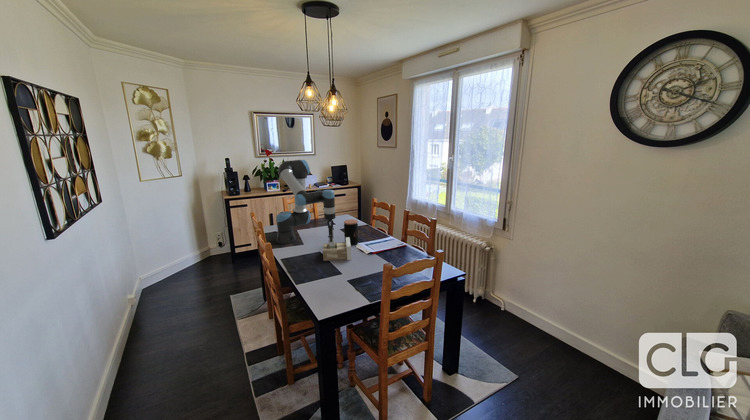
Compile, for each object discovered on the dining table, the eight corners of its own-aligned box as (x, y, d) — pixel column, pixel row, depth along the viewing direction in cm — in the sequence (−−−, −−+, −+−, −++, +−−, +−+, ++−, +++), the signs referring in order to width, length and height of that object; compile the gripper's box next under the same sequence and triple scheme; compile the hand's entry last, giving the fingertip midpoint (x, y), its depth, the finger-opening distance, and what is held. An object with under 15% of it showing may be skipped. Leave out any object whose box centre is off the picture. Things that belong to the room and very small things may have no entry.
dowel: (329, 252, 206) (328, 239, 203) (335, 252, 206) (334, 239, 204) (329, 255, 202) (328, 241, 199) (335, 254, 203) (334, 241, 200)
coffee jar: (356, 246, 221) (355, 223, 216) (343, 245, 223) (341, 223, 219) (360, 241, 231) (359, 219, 227) (347, 240, 233) (346, 219, 229)
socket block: (324, 252, 210) (323, 243, 208) (346, 251, 212) (345, 242, 210) (323, 260, 197) (322, 251, 195) (347, 258, 199) (346, 249, 197)
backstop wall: (346, 250, 214) (345, 237, 212) (350, 249, 215) (349, 237, 212) (347, 260, 197) (346, 246, 194) (351, 260, 197) (350, 246, 195)
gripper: (324, 208, 208) (326, 236, 213) (323, 218, 184) (325, 249, 189) (335, 207, 209) (336, 235, 214) (335, 217, 185) (337, 248, 190)
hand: (331, 242), depth 202 cm, fingers open, 13 cm apart
